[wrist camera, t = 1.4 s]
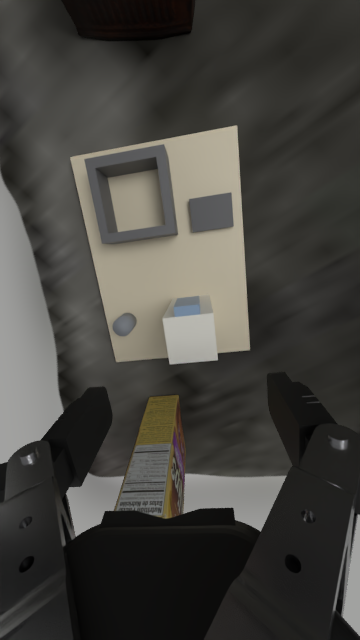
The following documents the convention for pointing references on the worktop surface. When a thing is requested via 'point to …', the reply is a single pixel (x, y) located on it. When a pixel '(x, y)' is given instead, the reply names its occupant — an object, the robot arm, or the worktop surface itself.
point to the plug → (190, 330)
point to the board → (166, 236)
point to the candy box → (156, 462)
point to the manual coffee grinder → (131, 18)
